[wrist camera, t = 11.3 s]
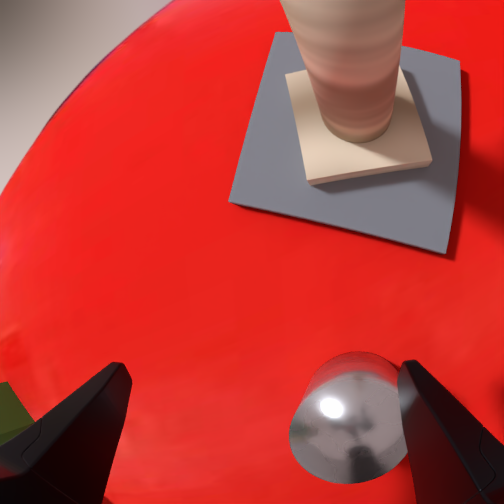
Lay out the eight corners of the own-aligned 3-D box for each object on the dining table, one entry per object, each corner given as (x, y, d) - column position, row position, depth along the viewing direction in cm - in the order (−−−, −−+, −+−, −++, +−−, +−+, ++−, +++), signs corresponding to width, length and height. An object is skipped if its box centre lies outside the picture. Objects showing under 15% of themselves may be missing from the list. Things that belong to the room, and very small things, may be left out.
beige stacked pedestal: (428, 166, 15) (529, -23, 2) (310, 185, 17) (180, 10, 4) (390, 58, 16) (381, -135, 3) (287, 75, 18) (185, -101, 5)
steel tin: (417, 364, 16) (435, 397, 11) (380, 446, 16) (382, 492, 11) (323, 339, 18) (311, 365, 13) (294, 422, 18) (274, 465, 13)
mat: (457, 67, 15) (459, 61, 14) (442, 254, 16) (445, 253, 15) (278, 38, 19) (275, 32, 18) (233, 203, 20) (228, 201, 19)
